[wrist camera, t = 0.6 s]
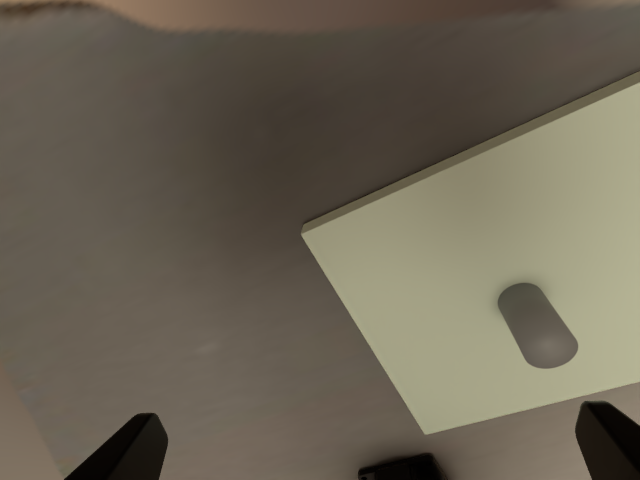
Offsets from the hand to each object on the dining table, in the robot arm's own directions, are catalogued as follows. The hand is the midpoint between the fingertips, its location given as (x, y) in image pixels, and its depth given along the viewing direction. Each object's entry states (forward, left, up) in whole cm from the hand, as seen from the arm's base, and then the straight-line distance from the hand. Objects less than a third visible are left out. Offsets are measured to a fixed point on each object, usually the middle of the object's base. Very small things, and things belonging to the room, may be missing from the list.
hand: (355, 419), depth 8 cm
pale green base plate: (-10, -5, -14) cm, 18 cm away
